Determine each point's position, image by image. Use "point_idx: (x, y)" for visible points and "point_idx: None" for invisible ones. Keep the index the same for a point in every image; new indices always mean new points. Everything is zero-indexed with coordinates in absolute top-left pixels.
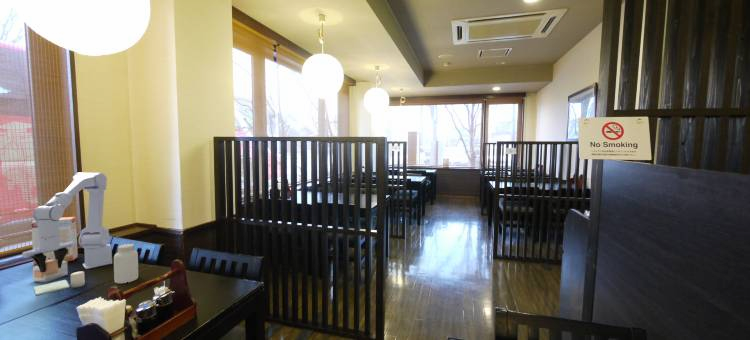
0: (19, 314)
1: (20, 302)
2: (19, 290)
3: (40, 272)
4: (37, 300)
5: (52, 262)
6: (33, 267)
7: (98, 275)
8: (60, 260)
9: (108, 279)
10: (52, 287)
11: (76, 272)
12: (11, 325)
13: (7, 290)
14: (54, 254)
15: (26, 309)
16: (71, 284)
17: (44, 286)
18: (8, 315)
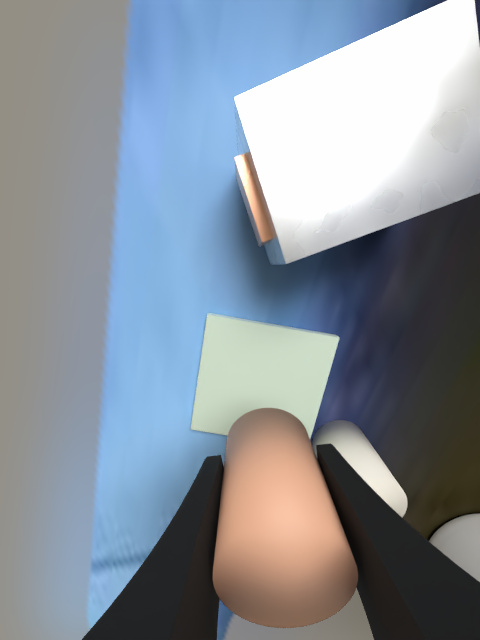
0: (122, 545)
1: (139, 445)
2: (158, 280)
3: (259, 236)
4: (184, 476)
5: (281, 621)
6: (237, 109)
7: (458, 388)
8: (365, 597)
9: (441, 480)
10: (258, 402)
11: (378, 485)
12: (98, 596)
13: (118, 222)
14: (407, 605)
15: (143, 524)
16: (316, 455)
17: (240, 355)
18: (98, 527)
